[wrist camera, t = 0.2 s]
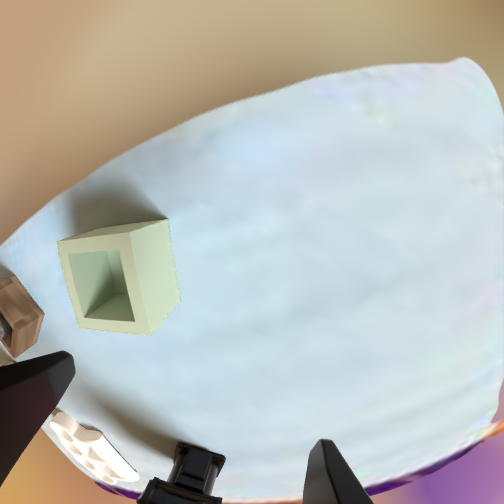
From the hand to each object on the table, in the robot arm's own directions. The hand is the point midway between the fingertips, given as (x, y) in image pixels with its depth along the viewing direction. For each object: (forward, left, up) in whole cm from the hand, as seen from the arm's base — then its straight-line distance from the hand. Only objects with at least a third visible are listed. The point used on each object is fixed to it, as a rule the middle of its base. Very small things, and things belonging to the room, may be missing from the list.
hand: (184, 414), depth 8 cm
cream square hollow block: (-2, +9, -15) cm, 17 cm away
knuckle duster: (-41, +17, -15) cm, 47 cm away
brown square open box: (-15, +27, -15) cm, 34 cm away
